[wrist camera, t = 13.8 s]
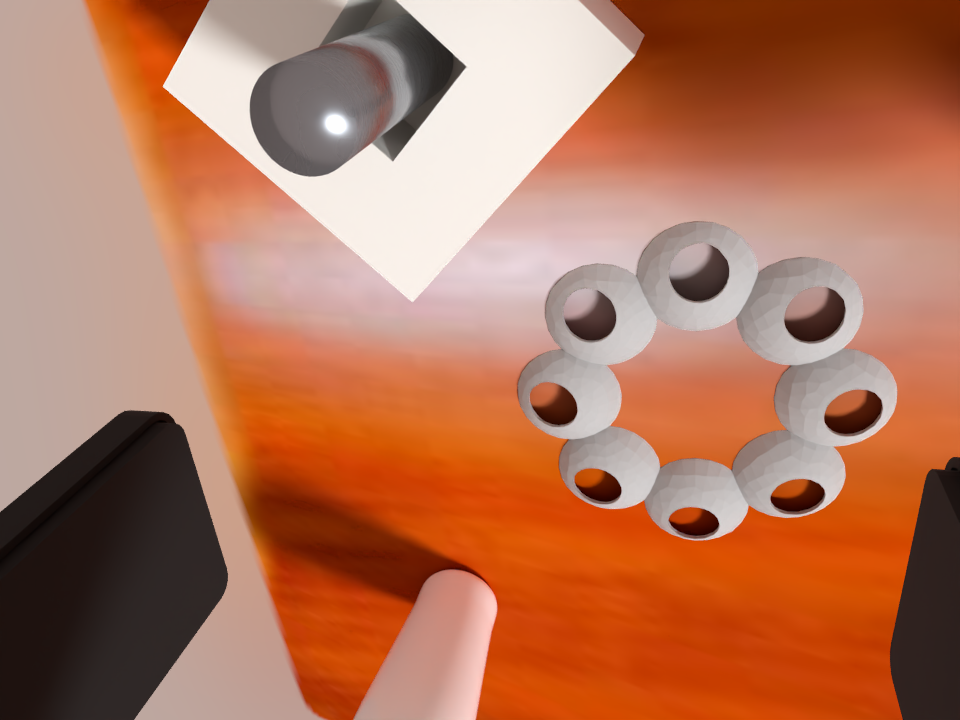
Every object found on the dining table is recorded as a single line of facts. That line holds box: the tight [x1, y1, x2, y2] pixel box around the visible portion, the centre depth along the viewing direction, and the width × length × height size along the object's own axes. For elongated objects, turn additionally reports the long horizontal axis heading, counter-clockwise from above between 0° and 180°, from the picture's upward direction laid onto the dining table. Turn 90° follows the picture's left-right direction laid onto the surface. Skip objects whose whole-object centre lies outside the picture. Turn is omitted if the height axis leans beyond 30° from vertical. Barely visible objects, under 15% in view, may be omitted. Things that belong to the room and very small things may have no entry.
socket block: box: [163, 0, 644, 302], centre depth 34 cm, size 14×14×7 cm
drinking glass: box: [353, 569, 497, 720], centre depth 47 cm, size 7×7×15 cm
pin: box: [250, 14, 453, 177], centre depth 30 cm, size 4×4×12 cm
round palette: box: [518, 222, 897, 540], centre depth 42 cm, size 20×20×2 cm
